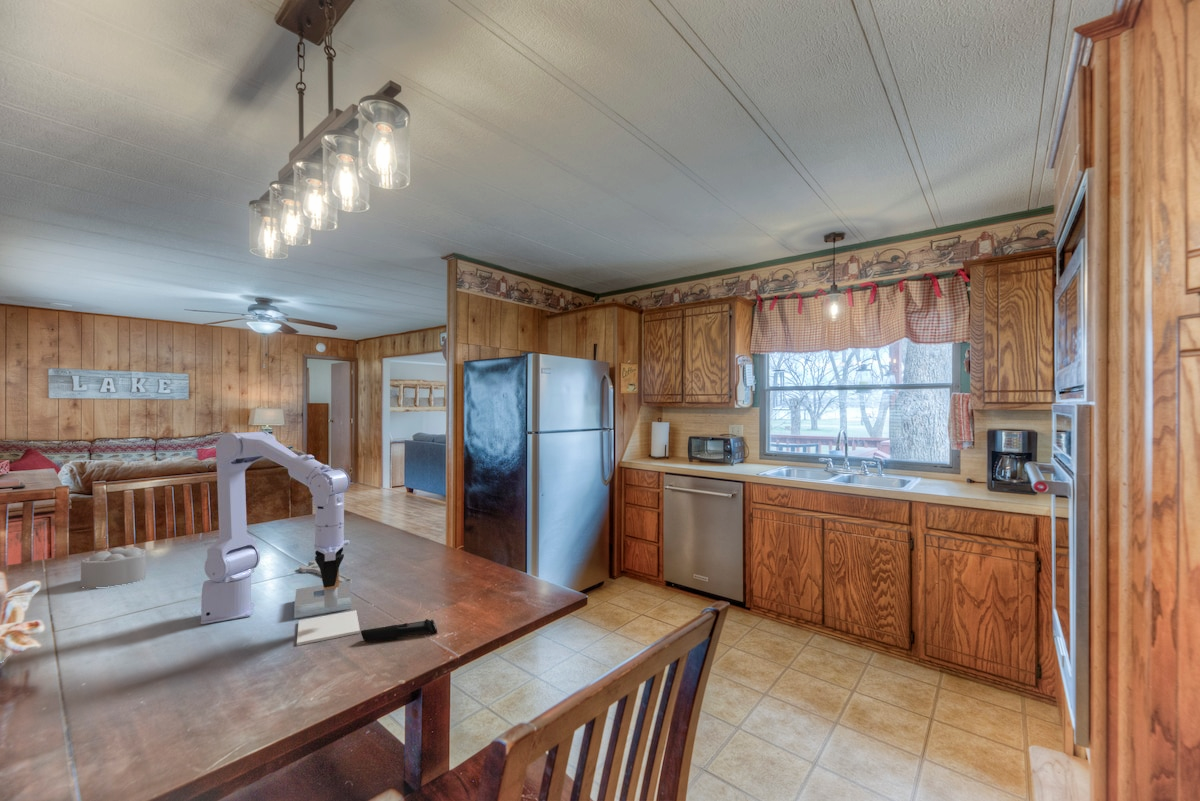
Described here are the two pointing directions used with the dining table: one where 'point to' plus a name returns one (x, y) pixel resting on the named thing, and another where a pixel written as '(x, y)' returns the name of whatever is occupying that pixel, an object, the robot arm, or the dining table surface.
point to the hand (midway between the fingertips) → (329, 583)
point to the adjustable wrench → (315, 569)
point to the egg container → (113, 567)
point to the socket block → (320, 600)
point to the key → (331, 594)
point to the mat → (327, 627)
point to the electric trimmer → (399, 631)
